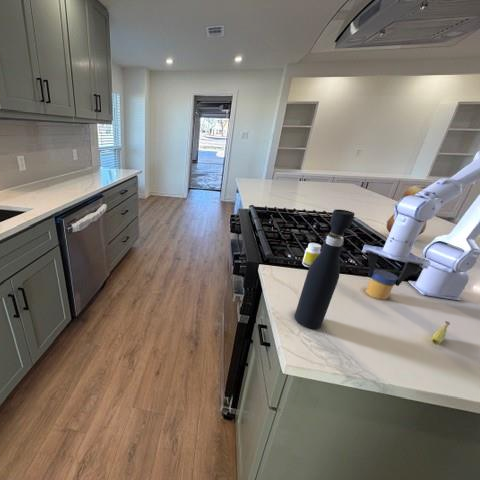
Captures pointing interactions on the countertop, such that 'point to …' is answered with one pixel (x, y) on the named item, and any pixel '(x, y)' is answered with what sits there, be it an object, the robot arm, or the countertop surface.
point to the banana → (440, 334)
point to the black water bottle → (323, 274)
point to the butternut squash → (409, 191)
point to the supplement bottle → (311, 254)
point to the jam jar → (378, 289)
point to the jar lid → (384, 277)
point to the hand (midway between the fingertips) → (382, 280)
